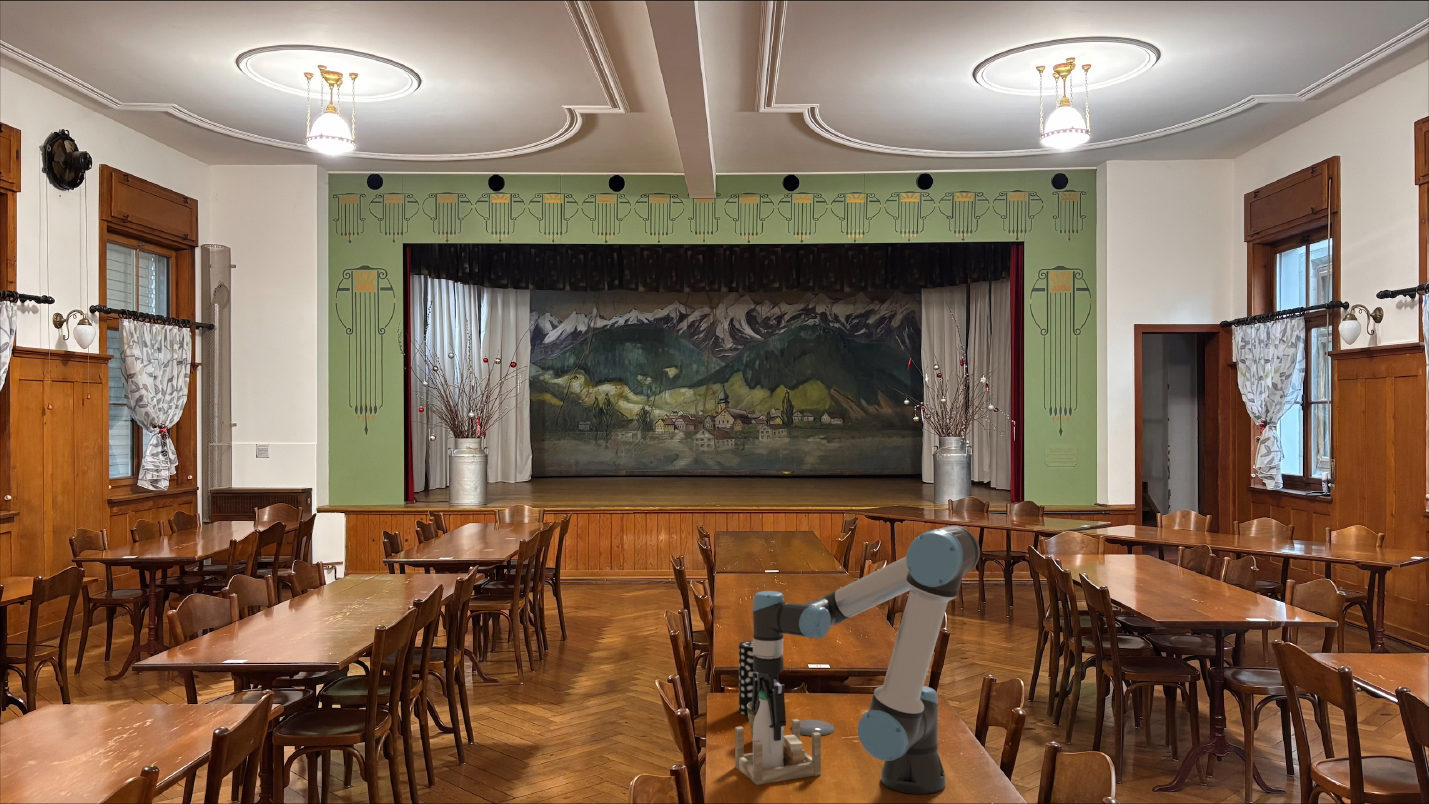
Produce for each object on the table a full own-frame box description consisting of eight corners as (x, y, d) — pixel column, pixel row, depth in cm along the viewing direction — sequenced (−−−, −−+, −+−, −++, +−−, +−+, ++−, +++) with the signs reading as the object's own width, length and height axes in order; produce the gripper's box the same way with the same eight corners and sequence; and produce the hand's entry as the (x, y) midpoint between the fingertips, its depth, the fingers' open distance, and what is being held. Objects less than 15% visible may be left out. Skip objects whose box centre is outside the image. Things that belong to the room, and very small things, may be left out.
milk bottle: (781, 779, 233) (781, 696, 233) (750, 776, 234) (750, 694, 235) (785, 767, 240) (785, 687, 241) (755, 765, 242) (755, 686, 242)
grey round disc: (841, 732, 267) (841, 730, 267) (803, 738, 262) (803, 735, 262) (821, 719, 278) (821, 717, 278) (784, 725, 273) (784, 722, 273)
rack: (820, 774, 236) (820, 733, 236) (756, 785, 229) (756, 743, 229) (797, 757, 248) (797, 718, 248) (735, 766, 241) (735, 726, 241)
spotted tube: (754, 705, 292) (753, 639, 292) (772, 711, 286) (772, 644, 286) (733, 710, 287) (733, 643, 287) (751, 717, 280) (751, 648, 281)
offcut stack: (806, 773, 237) (806, 743, 237) (791, 775, 235) (791, 745, 235) (791, 761, 245) (791, 732, 245) (776, 764, 243) (776, 734, 243)
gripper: (800, 663, 230) (800, 758, 229) (764, 644, 249) (764, 732, 248) (772, 666, 227) (772, 763, 227) (737, 646, 246) (738, 736, 246)
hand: (768, 747), depth 237 cm, fingers closed on milk bottle, 8 cm apart
